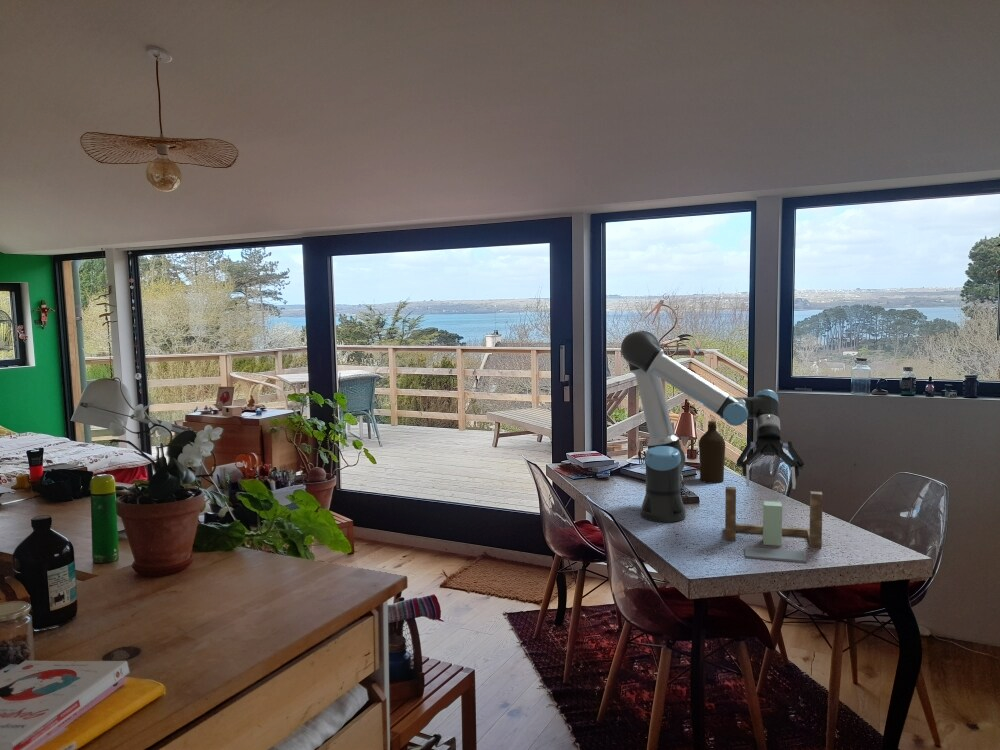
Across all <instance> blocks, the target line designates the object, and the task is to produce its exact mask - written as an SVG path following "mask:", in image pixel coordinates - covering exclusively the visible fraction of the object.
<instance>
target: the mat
mask: <svg viewBox="0 0 1000 750" xmlns="http://www.w3.org/2000/svg"><path fill="white" fill-rule="evenodd" d="M744 556H745V558H746V559H755V558H756V560H757V559H758V560H768V561H780V562H782V561H783V562H792V563H793V562H795V563H802V564H804V563H805V564H807V563H808V562H807V561H808V560H807V556H806V555H805V551H803V550H791V549H781V548H780V549H778V548H767V547H766V548H765V547H753V546H744Z"/></svg>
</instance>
